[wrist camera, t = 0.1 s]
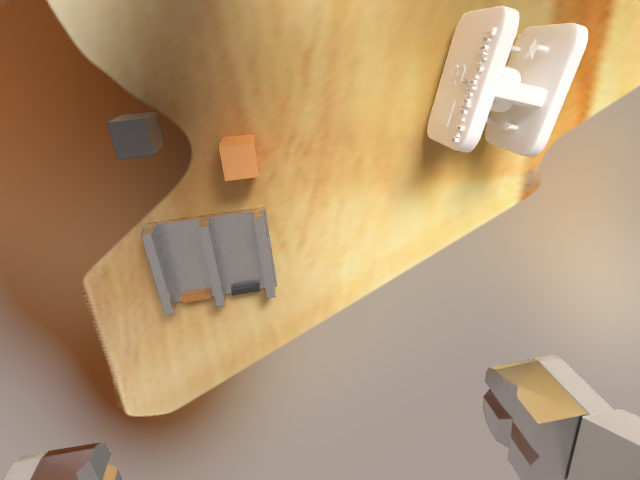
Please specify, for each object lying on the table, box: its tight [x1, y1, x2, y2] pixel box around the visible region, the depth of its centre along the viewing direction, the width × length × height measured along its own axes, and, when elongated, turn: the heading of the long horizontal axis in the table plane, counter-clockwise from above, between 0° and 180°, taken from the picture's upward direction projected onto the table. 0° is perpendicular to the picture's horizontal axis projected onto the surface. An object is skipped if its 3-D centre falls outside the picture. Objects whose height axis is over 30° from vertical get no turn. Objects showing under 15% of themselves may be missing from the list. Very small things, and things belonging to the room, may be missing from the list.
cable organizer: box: [427, 6, 588, 157], centre depth 49 cm, size 15×11×12 cm
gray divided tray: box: [141, 207, 277, 315], centre depth 57 cm, size 12×16×4 cm
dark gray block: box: [107, 111, 165, 159], centre depth 48 cm, size 4×4×6 cm
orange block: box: [219, 133, 259, 181], centre depth 51 cm, size 4×4×6 cm
